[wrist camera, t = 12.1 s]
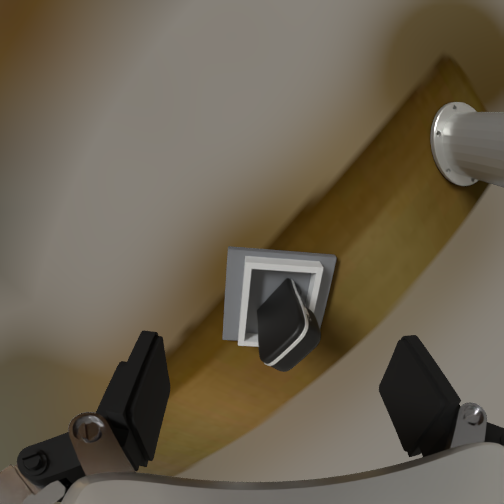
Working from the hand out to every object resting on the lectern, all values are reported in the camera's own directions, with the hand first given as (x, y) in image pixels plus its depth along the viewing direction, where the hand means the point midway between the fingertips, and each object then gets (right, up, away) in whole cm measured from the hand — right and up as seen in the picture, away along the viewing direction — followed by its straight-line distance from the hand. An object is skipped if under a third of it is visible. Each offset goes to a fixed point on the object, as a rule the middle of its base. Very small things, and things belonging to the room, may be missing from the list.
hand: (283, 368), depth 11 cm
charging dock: (+2, -2, +30) cm, 30 cm away
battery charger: (+3, -2, +29) cm, 29 cm away
